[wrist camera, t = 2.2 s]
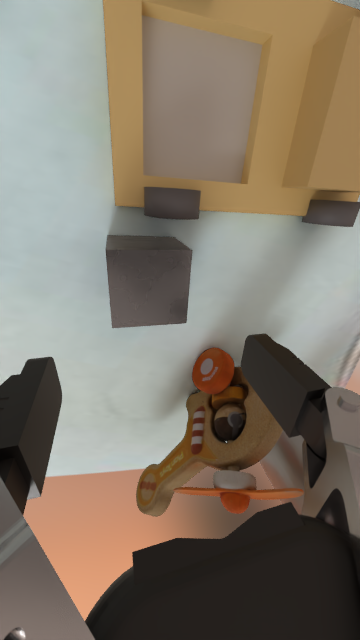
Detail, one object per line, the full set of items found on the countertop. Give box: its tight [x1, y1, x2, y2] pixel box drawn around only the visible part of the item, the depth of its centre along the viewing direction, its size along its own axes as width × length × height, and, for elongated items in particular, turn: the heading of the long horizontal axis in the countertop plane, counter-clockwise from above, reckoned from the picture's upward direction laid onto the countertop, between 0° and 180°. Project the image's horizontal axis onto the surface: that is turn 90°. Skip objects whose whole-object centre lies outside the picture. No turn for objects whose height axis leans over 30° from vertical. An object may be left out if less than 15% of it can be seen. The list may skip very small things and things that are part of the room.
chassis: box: [103, 0, 360, 227], centre depth 16 cm, size 21×13×4 cm, turn 86°
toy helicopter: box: [136, 348, 304, 517], centre depth 25 cm, size 8×21×14 cm, turn 139°
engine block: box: [106, 235, 192, 328], centre depth 19 cm, size 6×6×6 cm
